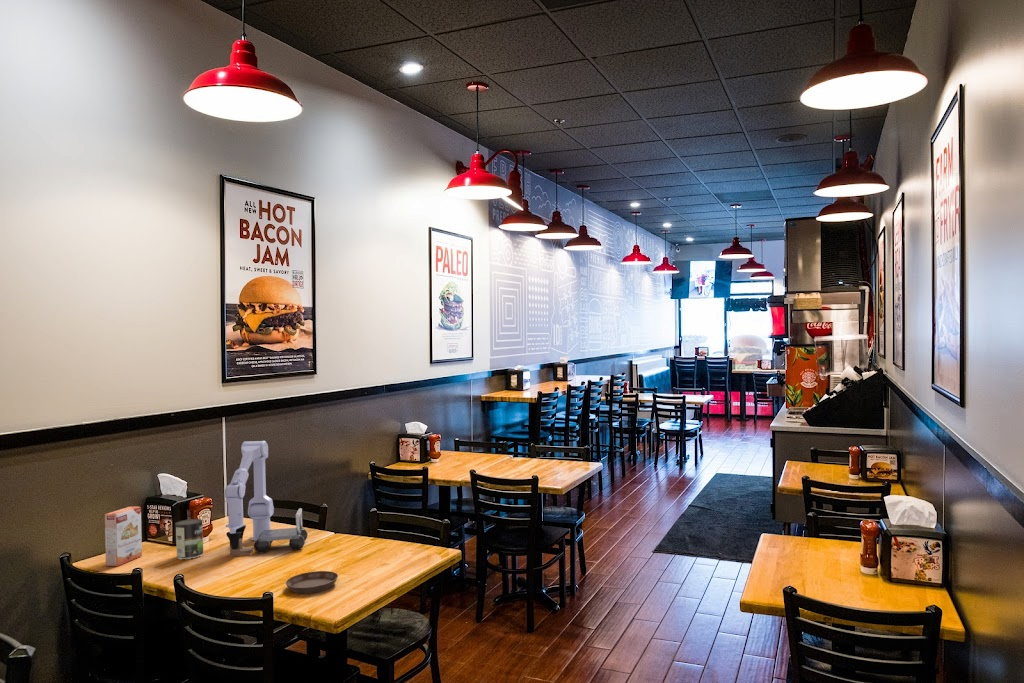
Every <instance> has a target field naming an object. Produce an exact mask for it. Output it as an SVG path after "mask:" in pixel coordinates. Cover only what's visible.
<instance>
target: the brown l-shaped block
mask: <svg viewBox="0 0 1024 683" xmlns="http://www.w3.org/2000/svg"><path fill="white" fill-rule="evenodd" d="M253 549H254V546H250V547H248V546H247V547H243V539H242V538H240V539H239V546H238V549H234V550H232V547H231V543H230V542H229V557H230V556H233V557H241V556H243V555H245V556H251V555H252V554H253V551H254V550H253ZM251 553H252V554H251ZM250 554H251V555H250ZM243 557H244V556H243Z"/></svg>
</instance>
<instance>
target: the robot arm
mask: <svg viewBox="0 0 1024 683" xmlns="http://www.w3.org/2000/svg"><path fill="white" fill-rule="evenodd" d="M240 449H241V450H240V451H241V455H242V457H241V460H240V465H239V467H238V469H236V470H235V471H234V473H233V476H232V477H231V481H230V483H229V484H228V485H226V487H225V489H224V497H225V500H226V504H227V512H228V524H225V528H228V529H229V531H228V532H226V537H227V538H228V541H229V544H230V543H231V547H232V550H234V549H238V546H239V539H240V538H242V540H243V539H244V534H245V530H246V527H247V525H246V524H245V522H244V503H243V502H244V500H243V498H244V497H245V494H246V487H247V486H246V484H247V481H248V479H249V476H250V475H249V474H250V473H249V469H250V467H251V465H252V463H253V496H254V497H252V498H251V499H250V500H249V501H248V508H247V515H248V516H249V518H250V520H252V533H253V534H252V536H253V537H252V538H251V539H250V541H251V540H254V541H256V540H257V539H258V538H259V536H260V534H261V533H262V532H263V531H264V530H272V529H271V528H272V526H271V517H272V516H273V515H274V513H275V512H274V511H275V507H274V501H273V499H272V498H271V497H269V496H268V495H267V484H266V483H267V482H266V481H267V480H266V476H267V475H266V459H267V458H269V445H268V443H267V440H260V441H259V440H256V441H254V440H253V441H249V440H248V441H246V440H245V441H243V442H242V444H241V447H240Z"/></svg>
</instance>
